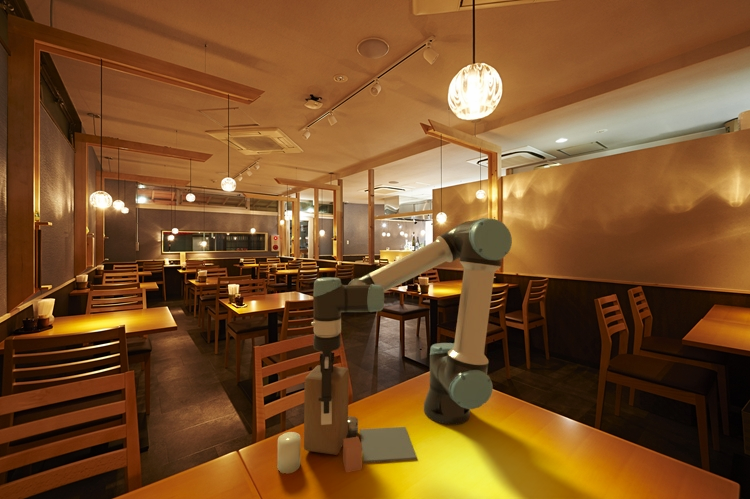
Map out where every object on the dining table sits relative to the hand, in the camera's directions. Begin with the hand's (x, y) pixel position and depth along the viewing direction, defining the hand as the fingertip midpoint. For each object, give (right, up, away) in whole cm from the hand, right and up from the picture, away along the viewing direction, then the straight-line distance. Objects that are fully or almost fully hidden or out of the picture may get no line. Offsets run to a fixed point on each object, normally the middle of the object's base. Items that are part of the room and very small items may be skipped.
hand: (327, 411), depth 89 cm
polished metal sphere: (+6, -10, +6) cm, 13 cm away
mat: (+17, -10, +1) cm, 19 cm away
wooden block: (0, -9, 0) cm, 9 cm away
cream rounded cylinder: (-8, -10, -8) cm, 15 cm away
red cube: (+8, -10, -7) cm, 15 cm away
